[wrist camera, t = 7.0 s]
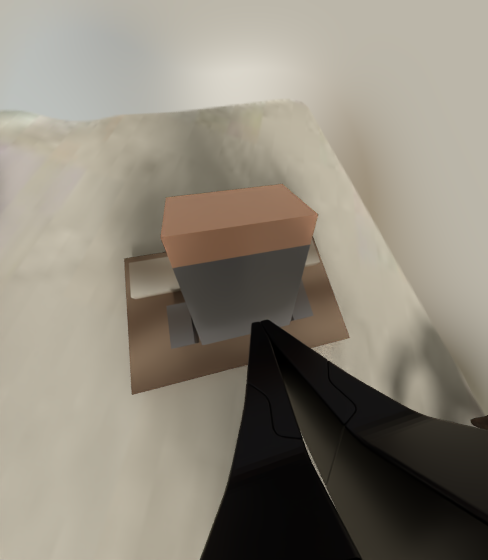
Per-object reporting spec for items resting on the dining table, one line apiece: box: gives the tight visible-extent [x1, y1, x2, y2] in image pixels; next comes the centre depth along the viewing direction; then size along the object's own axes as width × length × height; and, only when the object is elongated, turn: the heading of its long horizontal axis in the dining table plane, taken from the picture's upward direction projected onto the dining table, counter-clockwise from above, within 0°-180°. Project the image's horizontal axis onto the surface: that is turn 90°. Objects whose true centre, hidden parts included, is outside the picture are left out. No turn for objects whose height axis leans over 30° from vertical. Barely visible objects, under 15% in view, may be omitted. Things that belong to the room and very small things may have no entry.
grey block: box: [161, 184, 318, 345], centre depth 12 cm, size 4×7×10 cm
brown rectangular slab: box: [124, 236, 350, 395], centre depth 16 cm, size 11×18×4 cm, turn 103°
